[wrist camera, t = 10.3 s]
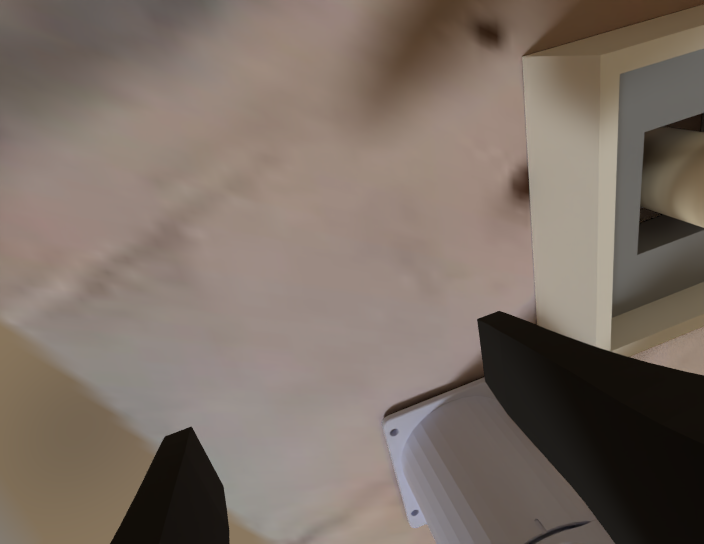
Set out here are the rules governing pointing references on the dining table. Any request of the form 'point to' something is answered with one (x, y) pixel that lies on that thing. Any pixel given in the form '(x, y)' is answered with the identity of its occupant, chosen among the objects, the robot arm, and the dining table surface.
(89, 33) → the dining table surface
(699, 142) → the peg
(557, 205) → the box
